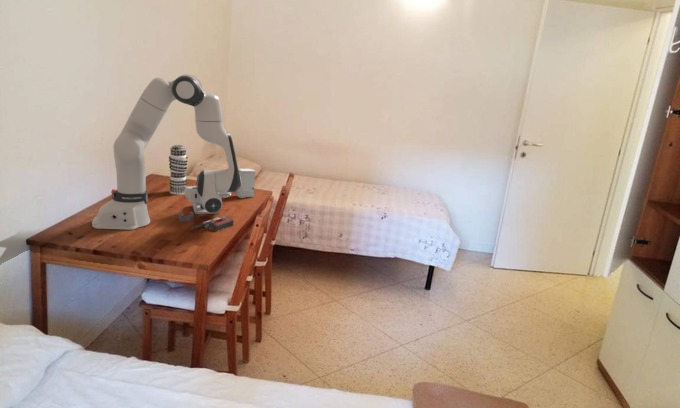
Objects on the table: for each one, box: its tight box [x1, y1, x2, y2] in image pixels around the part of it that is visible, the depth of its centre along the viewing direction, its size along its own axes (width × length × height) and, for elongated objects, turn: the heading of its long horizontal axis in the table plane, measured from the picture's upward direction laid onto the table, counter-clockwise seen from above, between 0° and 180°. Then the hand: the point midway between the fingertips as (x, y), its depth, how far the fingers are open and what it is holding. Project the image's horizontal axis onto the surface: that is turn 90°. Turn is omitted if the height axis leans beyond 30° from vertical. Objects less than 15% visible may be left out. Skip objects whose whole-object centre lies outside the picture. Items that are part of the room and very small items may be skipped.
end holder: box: [192, 202, 220, 215], centre depth 229 cm, size 11×13×6 cm
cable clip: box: [178, 211, 194, 222], centre depth 213 cm, size 6×4×3 cm, turn 111°
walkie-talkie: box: [189, 216, 234, 232], centre depth 207 cm, size 9×4×20 cm
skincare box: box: [235, 168, 256, 199], centre depth 255 cm, size 8×6×15 cm
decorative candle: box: [168, 144, 188, 196], centre depth 248 cm, size 9×9×25 cm
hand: (205, 187), depth 227 cm, fingers open, 8 cm apart
